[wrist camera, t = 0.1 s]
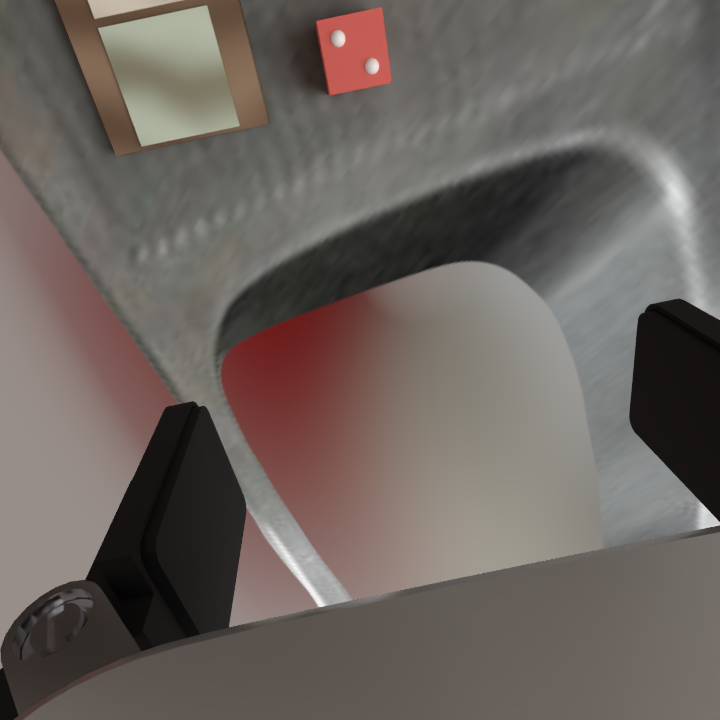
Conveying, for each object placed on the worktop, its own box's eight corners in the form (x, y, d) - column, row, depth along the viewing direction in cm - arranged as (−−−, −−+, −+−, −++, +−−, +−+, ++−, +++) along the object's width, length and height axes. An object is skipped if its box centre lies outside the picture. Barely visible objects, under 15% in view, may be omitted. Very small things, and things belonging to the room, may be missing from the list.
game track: (13, -122, 29) (1, -130, 28) (200, -162, 29) (195, -171, 27) (120, 154, 36) (115, 156, 35) (269, 123, 36) (268, 124, 35)
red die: (315, 28, 33) (316, 20, 29) (374, 15, 33) (382, 6, 29) (328, 94, 35) (330, 95, 31) (383, 83, 35) (392, 82, 31)
